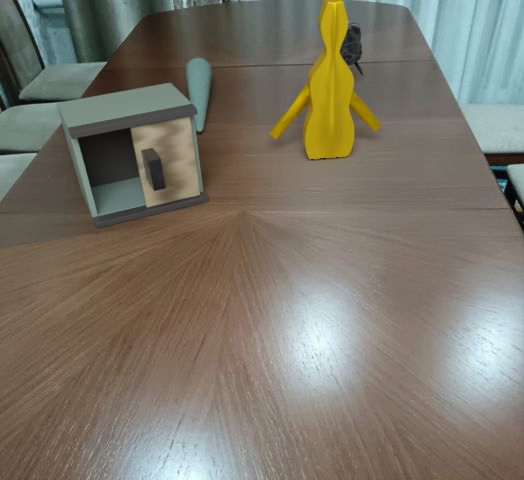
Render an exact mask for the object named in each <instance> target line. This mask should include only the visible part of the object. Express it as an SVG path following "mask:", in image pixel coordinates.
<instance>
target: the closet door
mask: <svg viewBox="0 0 524 480" xmlns="http://www.w3.org/2000/svg"><path fill="white" fill-rule="evenodd" d="M130 132H131V137H132V142H133V147H134V151H135V156H136V161H137V166H138V171H139V176H140V181H141V186H142V191H143V195H144V200H145V205H146V207H151V206H156V205H160V204H164V203H168V202H173V201H177V200H181V199H185V198H189V197H194V196H198V195H200V188H199V181H198V173H197V165H196V158H195V150H194V143H193V135H192V128H191V120H190V116H186V117H181V118H176V119H171V120H166V121H161V122H156V123H151V124H146V125H141V126H136V127H131V128H130Z"/></svg>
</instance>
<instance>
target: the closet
mask: <svg viewBox="0 0 524 480" xmlns="http://www.w3.org/2000/svg"><path fill="white" fill-rule="evenodd" d="M56 106H57V107H56V108H57V110H58V114H59V118H60V120H61V125H62V128H63V131H64V135H65V139H66V143H67V146H68V149H69V153H70V157H71V160H72V164H73V168H74V170H75V174H76V178H77V181H78V185H79V188H80V192H81V194H82V198H83V199H84V202H85V205H86V207H87V209H88V212H89V214H90V217H91V219H92V221H93V223H94V226H95V229H100V228H106V227H109V226H112V225H113V226H114V225H117V224H121V223H126V222H129V221H134V220H137V219H141V218H147V217H151V216H154V215H158V214H163V213H168V212H171V211H175V210H180V209H183V208H188V207H193V206H196V205H200V204H205V203H208V202H209V197H208V195H207V194H206V193H205V191H204V186H203V177H202V169H201V161H200V155H199V147H198V138H197V131H196V128H195V122H194V115H196V114H197V108H196V107H195V106H194V105H193V104H192V103H191V102H190V99H189V98H187V97H186V96H185V95H184V94H183V93H182V92H181V91H180V90H179V89H178V88H177V87H176V86H175V85H174V84H173V83H172V82H165V83H162V84H155V85H150V86H149V85H148V86H145V87H138V88H133V89H128V90H121V91H116V92H111V93H110V92H109V93H105V94H100V95H99V94H98V95H93V96H89V97H88V96H87V97H82V98H78V99H73V100H66V101H60V102H56ZM186 116H190V120H191V128H192V135H193V143H194V150H195V158H196V165H197V173H198V181H199V188H200V195H198V196H194V197H189V198H185V199H181V200H177V201H173V202H168V203H164V204H160V205H156V206H151V207H146V205H145V200H144V195H143V191H142V186H141V181H140V176H139V171H138V166H137V161H136V156H135V151H134V147H133V142H132V137H131V132H130V128H131V127H136V126H141V125H146V124H151V123H156V122H161V121H166V120H171V119H176V118H181V117H186Z"/></svg>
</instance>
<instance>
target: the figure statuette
mask: <svg viewBox="0 0 524 480" xmlns="http://www.w3.org/2000/svg"><path fill="white" fill-rule="evenodd" d="M348 21H349V19H348V14H347V11H346V6H345V2H344V1H343V0H322V4H321V7H320V10H319V13H318V15H317V26H318V31H319V35H320V37H321V39H322V42H323V50H322V51H321V53H320V55H319V56H318V58H317V60H316V61H315V62H314V63H313V65H312V67H311V68H310V70H309V72H308V74H307V80H306V83H305V84H304V85H303V87H302V88H301V90H300V92H299V93H298V94H297V96H296V98H295V99H294V101H293V102H292V104H291V105H290V106H289V107H288V109H286V111H284V113H283V114H282V115H281V117H280V118H279V119H278V121H277V122H276V123H275V124H274V125H273V126H272V128H271V129H270V130H269V132H268V134H269V135H270V136H271V137H273V138H274V139H275V140H278V139H279V138H280V137H281V136H282V134H284V132H285V131H286V130H287V129H288V127H290V125H292V123H293V122H294V121H295V120H296V119H297V117H298V116H299V115H300V114H301V113H302V112H303V111H304V110H305V109H306V107H307V106H309V107H308V110H307V113H306V116H305V119H304V122H303V127H302V140H303V146H304V148H305V153H306V155H307V157H308V159H309V160H311V159H314V160H323V159H322V158H326V159H336V157H338V158H346V157H348V156H349V155H350V154H351V152H352V149H353V146H354V141H355V124H354V120H353V117H352V114H351V111H350V109H351V110H352V111H353V112H354V114H356V115H357V116H358V118H359V119H361V121H362V122H364V123H365V124H366V125H367V126H368V127H369V128H370V129H371V130H372V131H373V132H375V133H376V132H377V131H378V129H380V128H381V126H382V124H381V122H380V121H379V120H378V118H377V117H376V115H375V114H374V113H373V112H372V110H371V109H370V108H369V106H368V105H367V104H366V103H365V102H364V101H363V100H362V99H361V98H360V97H359V96H358V93H356V92H355V90H354V87H355V78H354V74H353V72H352V70H351V68H350V67H349V66H348V65H347V64H346V62H345V61H344V59H343V58H342V56H341V55H340V48H341V45H342V43H343V40H344V38H345V35H346V33H347V29H348ZM320 158H321V159H320Z"/></svg>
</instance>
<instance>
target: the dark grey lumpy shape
mask: <svg viewBox="0 0 524 480" xmlns="http://www.w3.org/2000/svg"><path fill="white" fill-rule="evenodd" d="M360 25H361V22H360V23H357V22H355V21H353V20H348V29H347V33H346V35H345V38H344V40H343V43H342V45H341V48H340V55H341V56H342V58H343V59H344V61H345V62H346V64H347V65H348V67H349V66H353V65H354V66H355V69H356V70H357V72H358V73H359V74H360V75H361V76H362V77H365V74H364V71H363V70H362V68H361V65H360V64H359V61H360V59H361V58H362V55H363V45H362V41H361V39H362V32H361V27H360Z"/></svg>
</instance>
